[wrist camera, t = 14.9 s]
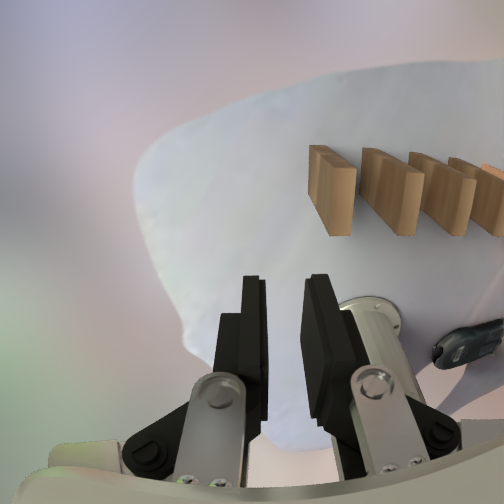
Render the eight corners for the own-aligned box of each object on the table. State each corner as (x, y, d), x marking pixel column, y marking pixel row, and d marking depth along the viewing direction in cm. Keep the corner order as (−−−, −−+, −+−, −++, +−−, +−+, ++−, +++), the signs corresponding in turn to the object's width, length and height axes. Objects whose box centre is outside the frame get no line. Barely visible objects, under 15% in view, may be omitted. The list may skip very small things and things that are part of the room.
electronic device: (496, 305, 40) (438, 332, 40) (513, 326, 36) (455, 358, 35) (479, 337, 46) (422, 364, 45) (492, 357, 41) (435, 388, 41)
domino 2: (377, 148, 28) (424, 173, 19) (372, 194, 30) (414, 235, 21) (362, 147, 28) (406, 172, 19) (359, 194, 30) (397, 235, 21)
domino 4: (459, 158, 28) (515, 186, 19) (452, 199, 30) (503, 236, 21) (448, 157, 28) (505, 184, 19) (442, 198, 30) (493, 236, 21)
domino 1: (325, 145, 28) (356, 168, 19) (323, 193, 30) (350, 235, 22) (309, 145, 28) (334, 167, 19) (308, 193, 30) (329, 235, 22)
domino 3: (421, 153, 28) (476, 180, 19) (416, 196, 30) (464, 235, 21) (409, 151, 28) (463, 178, 19) (404, 196, 30) (451, 235, 21)
